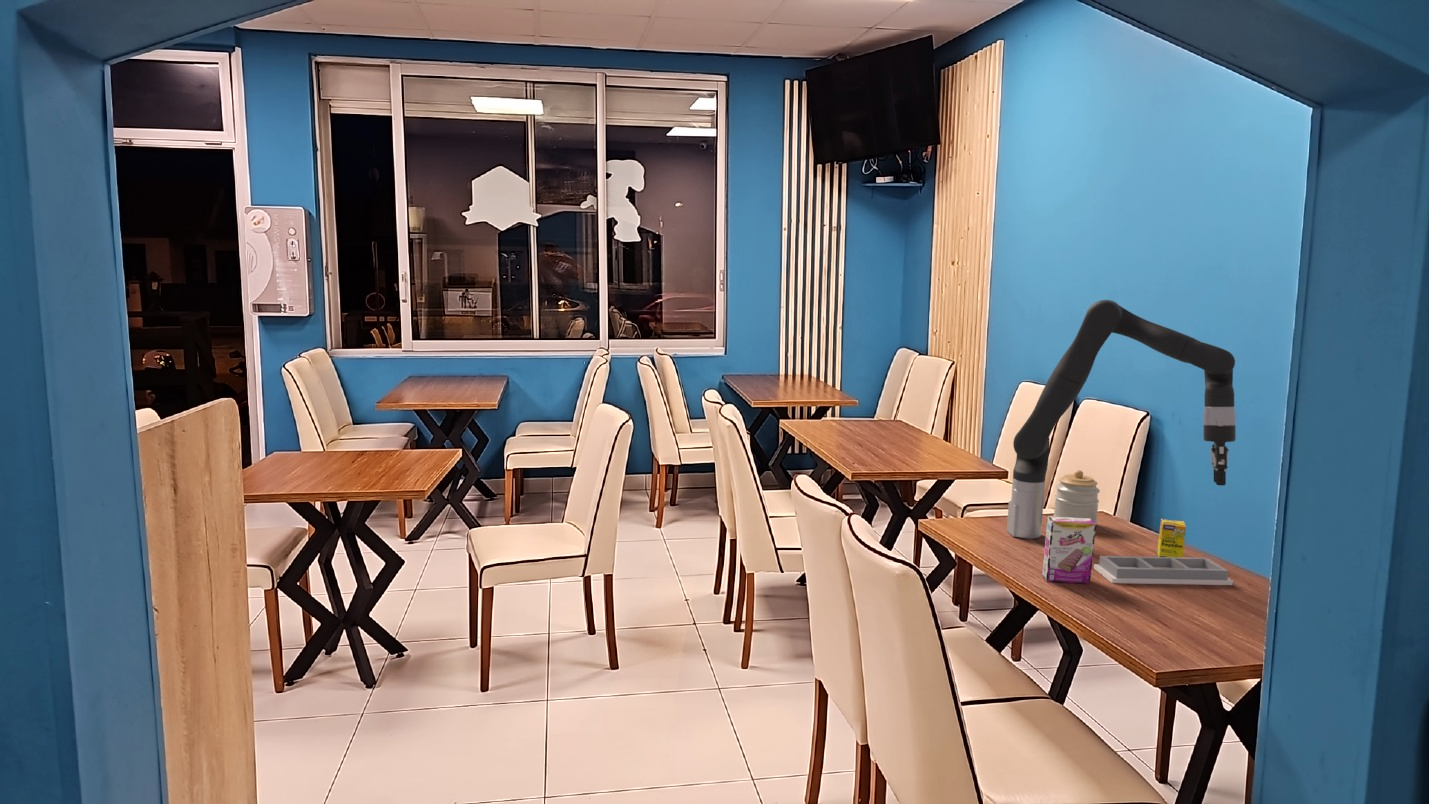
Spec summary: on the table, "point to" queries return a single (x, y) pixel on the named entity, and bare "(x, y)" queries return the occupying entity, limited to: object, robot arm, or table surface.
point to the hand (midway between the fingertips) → (1219, 483)
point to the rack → (1162, 570)
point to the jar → (1077, 497)
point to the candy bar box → (1068, 549)
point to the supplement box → (1171, 538)
